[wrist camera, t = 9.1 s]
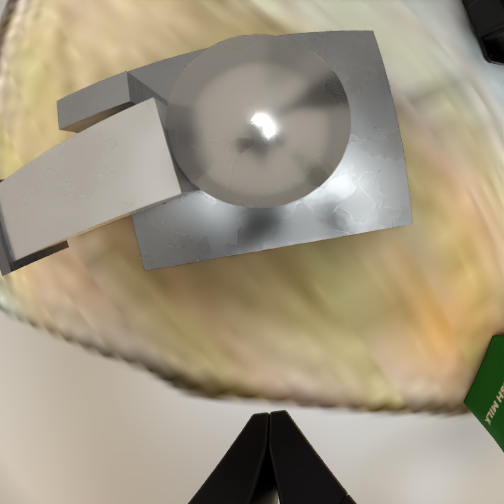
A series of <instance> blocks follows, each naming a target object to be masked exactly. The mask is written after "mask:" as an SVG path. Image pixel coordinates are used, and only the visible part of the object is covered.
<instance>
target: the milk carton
mask: <svg viewBox="0 0 504 504" xmlns="http://www.w3.org/2000/svg"><path fill="white" fill-rule="evenodd" d="M464 404H465V405H466V406H467V407H468V408H469V409H470V411H471V412H472V413H473V414H474V415H475V416H476V418H477V419H478V420H479V421H480V422H481V424H482V425H483V426H484V427H485V428H486V430H487V431H488V432H489V433H490V434H491V436H492V437H493V438H494V439H495V441H496V442H497V444H498V445H499V446H500V448H501V449H502V451H503V452H504V336H493V337H492V340H491V343H490V345H489V348H488V351H487V353H486V355H485V358H484V360H483V363H482V365H481V367H480V370H479V372H478V374H477V376H476V379H475V381H474V383H473V385H472V387H471V389H470V391H469V393H468V396H467V398H466V400H465V401H464Z"/></svg>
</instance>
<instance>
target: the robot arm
mask: <svg viewBox="0 0 504 504" xmlns="http://www.w3.org/2000/svg"><path fill="white" fill-rule="evenodd" d="M463 3H464V5H465V7H466V9H467V11H468V14H469V16H470V18H471V21H472V23H473V26H474V28H475V31H476V33H477V36H478V39H479V41H480V44H481V47H482V50H483V53H484V56H485V58H486V59H487V61H489V62H490V63H495V64H500V65H504V0H463ZM490 56H491V57H490ZM278 497H279V502H280V504H356V502H355V501H354V500H353V499H352V497H351V496H350V495H347V492H346V490H345V489H344V488H343V486H342V485H341V484H340V483H339V481H338V480H337V479H336V477H335V476H334V475H333V473H332V472H331V471H330V470H329V468H328V467H327V466H326V464H325V463H324V462H323V460H322V459H321V458H320V456H319V455H318V454H317V452H316V451H315V450H314V448H313V447H312V446H311V444H310V443H309V442H308V440H307V439H306V437H305V436H304V435H303V433H302V432H301V430H300V429H299V428H298V426H297V425H296V423H295V422H294V421H293V419H292V418H291V416H290V415H289V414H288V412H287V411H286V410H281V411H274V412H271V413H270V414H269V413H267V412H266V413H257V414H253V415H252V416H251V418H250V420H249V421H248V422H247V424H246V425H245V427H244V428H243V430H242V431H241V433H240V434H239V435H238V437H237V438H236V440H235V441H234V443H233V444H232V446H231V447H230V448H229V450H228V451H227V453H226V454H225V455H224V457H223V458H222V460H221V461H220V462H219V464H218V465H217V466H216V468H215V469H214V471H213V472H212V473H211V474H210V476H209V477H208V479H207V480H206V481H205V483H204V484H203V485H202V486H201V488H200V489H199V490H198V492H197V493H196V494H195V496H194V497H193V498H192V499H191V501H190V502H189V503H188V504H278Z"/></svg>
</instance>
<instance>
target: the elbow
mask: <svg viewBox="0 0 504 504" xmlns="http://www.w3.org/2000/svg"><path fill="white" fill-rule="evenodd" d="M350 130H351V113H350V106H349V102H348V98H347V95H346V92H345V90H344V87H343V85H342V83H341V81H340V80H339V78H338V76H337V75H336V73H335V72H334V71H333V69H332V68H331V67H330V66H329V65H328V64H327V63H326V62H325V61H324V60H323V59H322V58H321V57H320V56H319V55H317V54H316V53H315V52H313V51H312V50H311V49H309V48H307V47H305V46H304V45H302V44H300V43H297V42H295V41H292V40H290V39H286V38H283V37H279V36H273V35H263V34H253V35H243V36H238V37H234V38H230V39H227V40H224V41H222V42H219V43H217V44H215V45H213V46H211V47H209V48H208V49H206V50H205V51H203V52H202V53H200V54H199V55H198V56H197V57H196V58H195V59H193V60H192V61H191V62H190V63H189V65H188V66H187V67H186V68H185V69H184V70H183V72H182V73H181V75H180V76H179V78H178V79H177V81H176V83H175V85H174V87H173V89H172V92H171V95H170V98H169V101H168V106H166V105H164V104H163V103H161V102H160V101H158V100H157V99H156V98H154V97H153V98H151V99H148V100H146V101H144V102H141V103H139V104H137V105H135V106H132V107H130V108H128V109H126V110H124V111H121V112H119V113H117V114H115V115H113V116H111V117H109V118H107V119H105V120H103V121H101V122H99V123H97V124H95V125H93V126H91V127H89V128H87V129H85V130H83V131H82V132H80V133H78V134H76V135H74V136H73V137H71V138H69V139H67V140H65V141H64V142H62V143H60V144H59V145H57V146H55V147H54V148H52V149H50V150H49V151H47V152H45V153H44V154H42V155H40V156H39V157H37V158H36V159H34V160H33V161H31V162H30V163H28V164H27V165H25V166H24V167H22V168H21V169H19V170H18V171H16V172H15V173H13V174H12V175H10V176H9V177H8V178H6V179H3V180H0V270H1V273H2V276H4V275H6V274H8V273H10V272H12V271H15V270H17V269H19V268H21V267H24V266H26V265H28V264H30V263H33V262H35V261H37V260H39V259H42V258H44V257H46V256H49V255H51V254H53V253H56V252H58V251H60V250H63V249H65V248H68V247H69V246H68V243H67V240H69V239H71V238H74V237H76V236H78V235H81V234H83V233H86V232H88V231H91V230H93V229H96V228H98V227H101V226H103V225H106V224H108V223H111V222H113V221H116V220H119V219H121V218H124V217H126V216H129V215H132V214H134V213H137V212H140V211H143V210H145V209H148V208H151V207H154V206H156V205H159V204H162V203H165V202H168V201H171V200H173V199H176V198H179V197H182V196H185V195H188V194H191V193H194V192H197V191H200V190H202V191H204V192H206V193H207V194H209V195H210V196H212V197H214V198H216V199H218V200H221V201H223V202H225V203H229V204H232V205H235V206H241V207H247V208H270V207H277V206H281V205H286V204H289V203H291V202H294V201H297V200H299V199H301V198H303V197H305V196H307V195H309V194H310V193H312V192H313V191H315V190H316V189H317V188H319V187H320V186H321V185H322V184H323V183H324V182H325V181H327V179H328V178H329V177H330V176H331V175H332V174H333V172H334V171H335V170H336V168H337V167H338V165H339V163H340V162H341V160H342V158H343V156H344V153H345V151H346V148H347V145H348V142H349V137H350Z"/></svg>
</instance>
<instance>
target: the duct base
mask: <svg viewBox="0 0 504 504" xmlns="http://www.w3.org/2000/svg"><path fill="white" fill-rule="evenodd" d="M279 37H283V38H286V39H290V40H292V41H295V42H297V43H300V44H302V45H304V46H305V47H307V48H309V49H311V50H312V51H313V52H315V53H316V54H317V55H319V56H320V57H321V58H322V59H323V60H324V61H325V62H326V63H327V64H328V65H329V66H330V67H331V68H332V69H333V71H334V72H335V73H336V75H337V76H338V78H339V80H340V81H341V83H342V85H343V87H344V90H345V92H346V95H347V98H348V102H349V106H350V113H351V130H350V137H349V142H348V145H347V148H346V151H345V153H344V156H343V158H342V160H341V162H340V163H339V165H338V167H337V168H336V170H335V171H334V172H333V174H332V175H331V176H330V177H329V178H328V179H327V181H325V182H324V183H323V184H322V185H321V186H320V187H319V188H317V189H316V190H315V191H313V192H312V193H310V194H309V195H307V196H305V197H303V198H301V199H299V200H297V201H294V202H291V203H289V204H286V205H281V206H277V207H270V208H247V207H241V206H235V205H232V204H229V203H225V202H223V201H221V200H218V199H216V198H214V197H212V196H210V195H209V194H207V193H206V192H204V191H202V190H200V191H197V192H194V193H191V194H188V195H185V196H182V197H179V198H176V199H173V200H171V201H168V202H165V203H162V204H159V205H156V206H154V207H151V208H148V209H145V210H143V211H140V212H137V213H134V214H132V215H131V216H132V220H133V225H134V229H135V234H136V238H137V242H138V246H139V250H140V254H141V258H142V262H143V266H144V270H145V271H146V270H152V269H157V268H163V267H169V266H175V265H180V264H186V263H192V262H197V261H203V260H209V259H215V258H220V257H226V256H232V255H238V254H243V253H249V252H255V251H261V250H266V249H272V248H278V247H283V246H289V245H295V244H301V243H306V242H312V241H318V240H324V239H329V238H335V237H341V236H346V235H352V234H358V233H364V232H369V231H375V230H381V229H387V228H392V227H398V226H404V225H410V224H413V223H412V212H411V203H410V194H409V186H408V178H407V171H406V165H405V158H404V152H403V146H402V141H401V136H400V130H399V125H398V121H397V116H396V111H395V107H394V103H393V98H392V94H391V90H390V86H389V82H388V79H387V75H386V71H385V68H384V64H383V61H382V57H381V54H380V51H379V48H378V44H377V41H376V38H375V35H374V32H373V31H326V32H310V33H298V34H289V35H280V36H279ZM207 49H208V48H207ZM205 50H206V49H202V50H198V51H194V52H190V53H186V54H183V55H179V56H175V57H172V58H168V59H165V60H162V61H159V62H155V63H152V64H149V65H146V66H143V67H140V68H137V69H134V70H131V71H129V72H127V71H125V72H123V73H120V74H117V75H115V76H112V77H110V78H107V79H105V80H102V81H100V82H97V83H95V84H93V85H90V86H88V87H86V88H83V89H81V90H79V91H77V92H75V93H73V94H70V95H68V96H66V97H64V98H62V99H60V100H58V101H57V111H58V123H59V130H65V131H70V132H76V133H80V132H82V131H83V130H85V129H87V128H89V127H91V126H93V125H95V124H97V123H99V122H101V121H103V120H105V119H107V118H109V117H111V116H113V115H115V114H117V113H119V112H121V111H124V110H126V109H128V108H130V107H132V106H135V105H137V104H139V103H141V102H144V101H146V100H148V99H151V98H153V97H154V98H156V99H157V100H158V101H160V102H161V103H163V104H164V105H166V106H168V101H169V98H170V95H171V92H172V89H173V87H174V85H175V83H176V81H177V79H178V78H179V76H180V75H181V73H182V72H183V70H184V69H185V68H186V67H187V66H188V65H189V63H190V62H191V61H192V60H193V59H195V58H196V57H197V56H198V55H199V54H200V53H202V52H203V51H205Z"/></svg>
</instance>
